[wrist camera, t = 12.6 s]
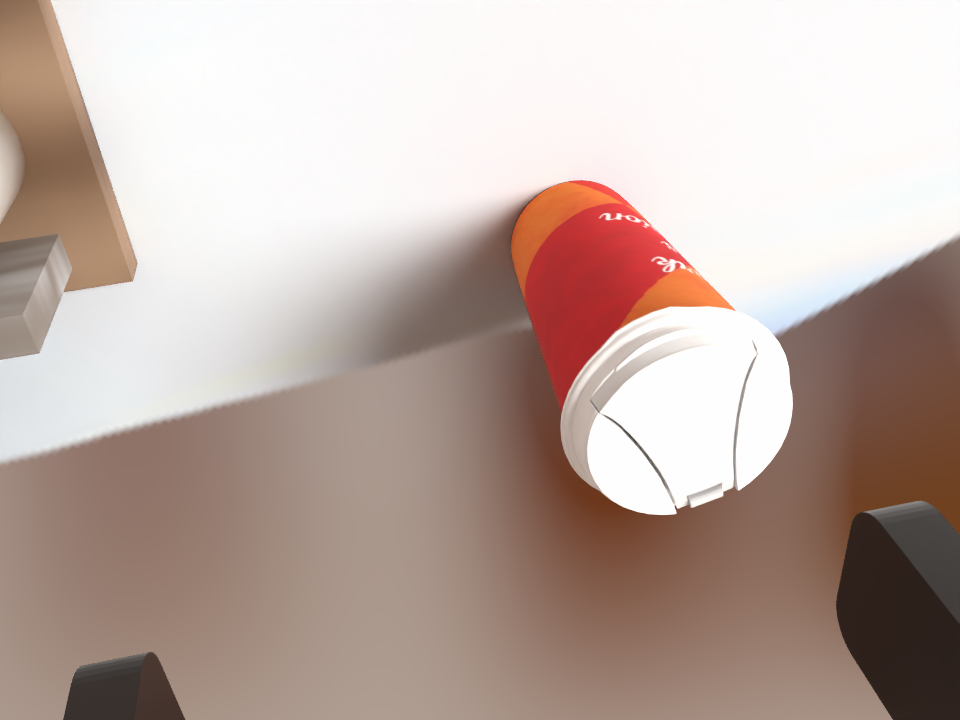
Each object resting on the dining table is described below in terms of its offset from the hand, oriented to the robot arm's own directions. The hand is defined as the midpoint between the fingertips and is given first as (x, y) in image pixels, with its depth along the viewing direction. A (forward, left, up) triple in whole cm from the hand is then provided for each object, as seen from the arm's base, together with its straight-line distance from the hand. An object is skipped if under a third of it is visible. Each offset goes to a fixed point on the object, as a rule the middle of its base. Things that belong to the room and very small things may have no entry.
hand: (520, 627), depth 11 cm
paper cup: (+10, +8, -28) cm, 31 cm away
